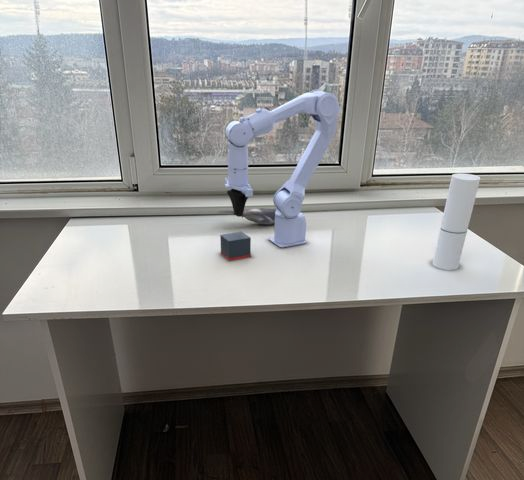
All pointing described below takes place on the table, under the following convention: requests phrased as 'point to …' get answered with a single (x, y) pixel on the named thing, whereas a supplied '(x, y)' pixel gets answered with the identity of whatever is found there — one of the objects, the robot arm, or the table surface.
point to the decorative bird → (257, 215)
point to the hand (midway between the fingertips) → (238, 214)
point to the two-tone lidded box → (235, 245)
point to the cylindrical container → (455, 220)
